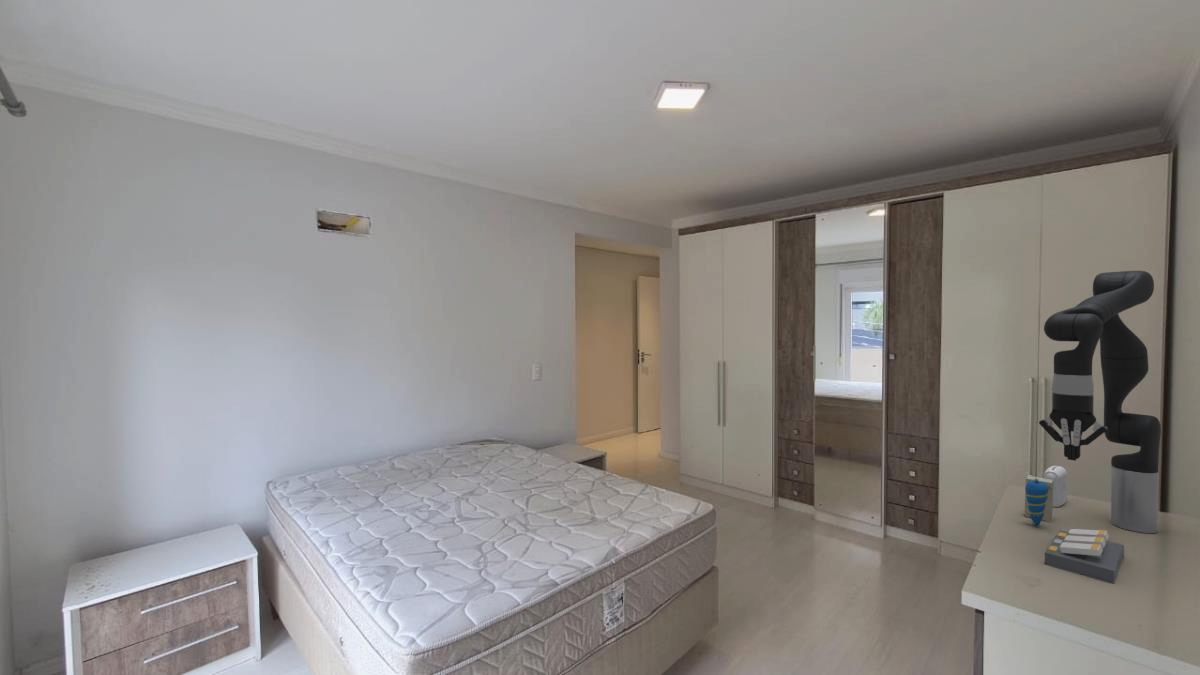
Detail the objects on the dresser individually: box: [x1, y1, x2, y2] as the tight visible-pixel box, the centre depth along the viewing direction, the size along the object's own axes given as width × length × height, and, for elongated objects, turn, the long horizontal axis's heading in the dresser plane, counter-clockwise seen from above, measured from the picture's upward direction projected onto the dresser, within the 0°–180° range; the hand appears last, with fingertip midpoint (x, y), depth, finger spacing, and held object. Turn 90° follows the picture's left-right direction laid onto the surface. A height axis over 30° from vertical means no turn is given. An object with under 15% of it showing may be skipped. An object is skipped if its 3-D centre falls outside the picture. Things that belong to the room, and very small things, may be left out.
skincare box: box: [1024, 475, 1054, 523], centre depth 149 cm, size 6×4×12 cm
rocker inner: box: [1068, 528, 1110, 541], centre depth 126 cm, size 4×7×2 cm, turn 38°
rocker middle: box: [1064, 535, 1106, 548], centre depth 122 cm, size 4×7×2 cm, turn 38°
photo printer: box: [1043, 465, 1068, 508], centre depth 160 cm, size 10×4×12 cm, turn 123°
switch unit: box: [1044, 529, 1125, 584], centre depth 123 cm, size 20×12×4 cm, turn 128°
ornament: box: [1024, 476, 1049, 528], centre depth 142 cm, size 5×5×15 cm
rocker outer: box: [1060, 542, 1103, 556], centre depth 119 cm, size 4×7×2 cm, turn 38°
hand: (1071, 459), depth 123 cm, fingers closed
